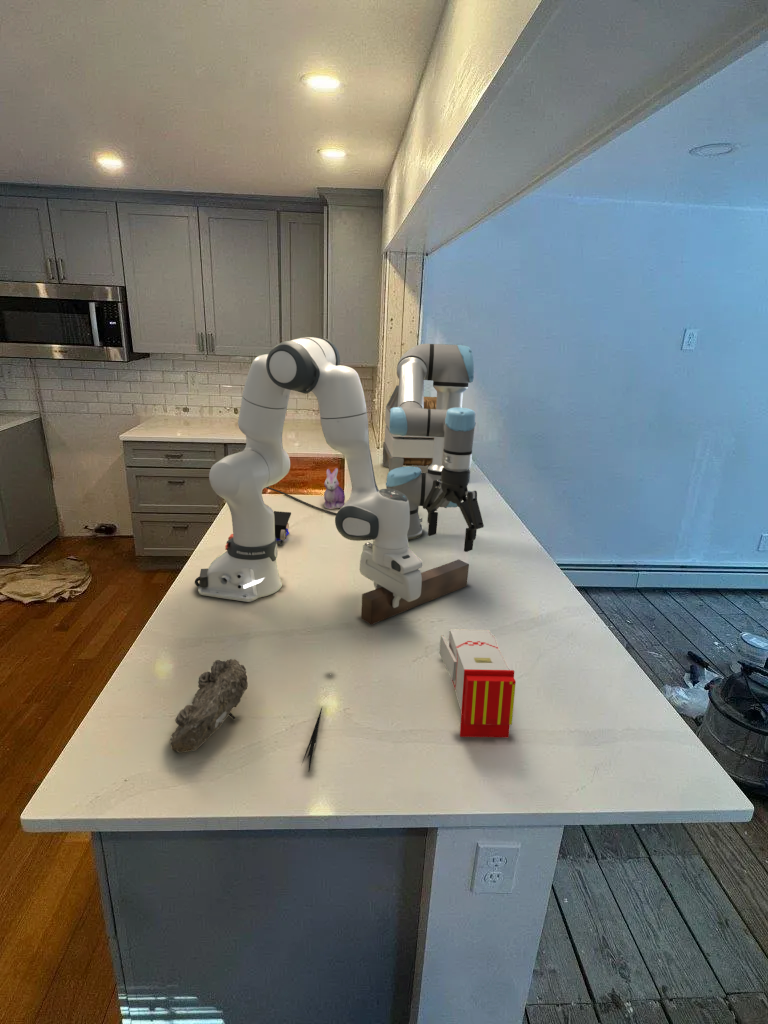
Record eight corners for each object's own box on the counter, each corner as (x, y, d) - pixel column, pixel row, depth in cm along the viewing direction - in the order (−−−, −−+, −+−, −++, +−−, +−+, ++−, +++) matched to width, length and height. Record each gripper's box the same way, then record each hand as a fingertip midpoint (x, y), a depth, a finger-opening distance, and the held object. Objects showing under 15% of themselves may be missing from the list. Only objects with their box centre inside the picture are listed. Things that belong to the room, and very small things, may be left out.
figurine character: (286, 550, 185) (292, 529, 198) (285, 530, 182) (291, 509, 195) (265, 550, 185) (273, 528, 198) (264, 529, 181) (272, 509, 195)
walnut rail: (371, 624, 142) (372, 600, 140) (361, 618, 145) (361, 593, 142) (467, 585, 164) (469, 564, 162) (456, 580, 167) (458, 559, 165)
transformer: (381, 463, 289) (385, 382, 275) (444, 464, 292) (450, 384, 279) (389, 482, 257) (393, 392, 243) (459, 483, 261) (467, 394, 247)
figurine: (327, 510, 218) (328, 473, 213) (318, 502, 227) (318, 466, 222) (350, 508, 223) (351, 471, 218) (339, 500, 231) (340, 464, 226)
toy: (489, 613, 130) (525, 677, 101) (485, 667, 133) (518, 744, 104) (437, 612, 130) (457, 676, 101) (434, 666, 133) (453, 743, 103)
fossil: (195, 660, 117) (247, 628, 112) (227, 691, 120) (279, 661, 115) (146, 746, 98) (206, 711, 93) (185, 779, 101) (245, 748, 96)
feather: (331, 679, 122) (336, 673, 122) (307, 777, 96) (313, 769, 95) (324, 675, 122) (329, 669, 121) (298, 772, 95) (304, 764, 95)
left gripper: (354, 542, 147) (353, 590, 152) (408, 570, 133) (404, 622, 137) (373, 537, 151) (371, 583, 156) (427, 564, 137) (423, 614, 141)
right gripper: (413, 459, 156) (408, 531, 163) (483, 481, 138) (475, 561, 145) (432, 455, 160) (427, 525, 167) (502, 477, 143) (493, 554, 150)
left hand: (387, 602), depth 146 cm, fingers closed on walnut rail, 4 cm apart
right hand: (449, 542), depth 156 cm, fingers open, 13 cm apart
